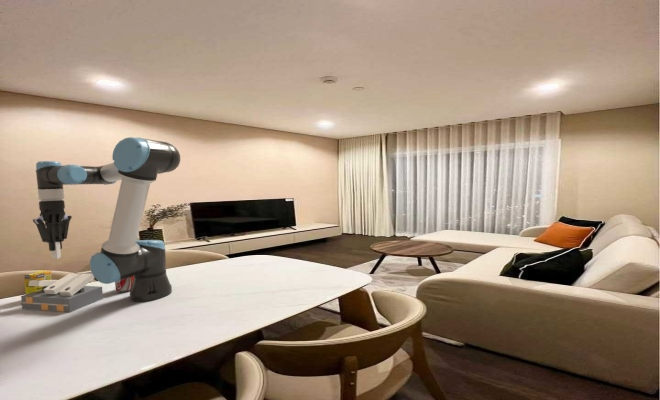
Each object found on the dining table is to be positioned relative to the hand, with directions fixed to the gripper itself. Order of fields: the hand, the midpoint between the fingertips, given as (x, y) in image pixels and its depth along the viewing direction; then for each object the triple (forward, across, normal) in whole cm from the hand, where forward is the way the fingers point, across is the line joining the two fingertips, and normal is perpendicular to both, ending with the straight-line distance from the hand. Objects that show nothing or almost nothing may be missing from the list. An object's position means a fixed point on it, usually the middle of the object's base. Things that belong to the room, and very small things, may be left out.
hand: (56, 258), depth 122 cm
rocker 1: (+9, +4, 0) cm, 10 cm away
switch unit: (+17, +3, +6) cm, 19 cm away
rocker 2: (+9, +4, +7) cm, 12 cm away
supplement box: (+17, 0, -10) cm, 20 cm away
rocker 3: (+9, +4, +14) cm, 17 cm away
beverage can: (+18, -14, +18) cm, 29 cm away
